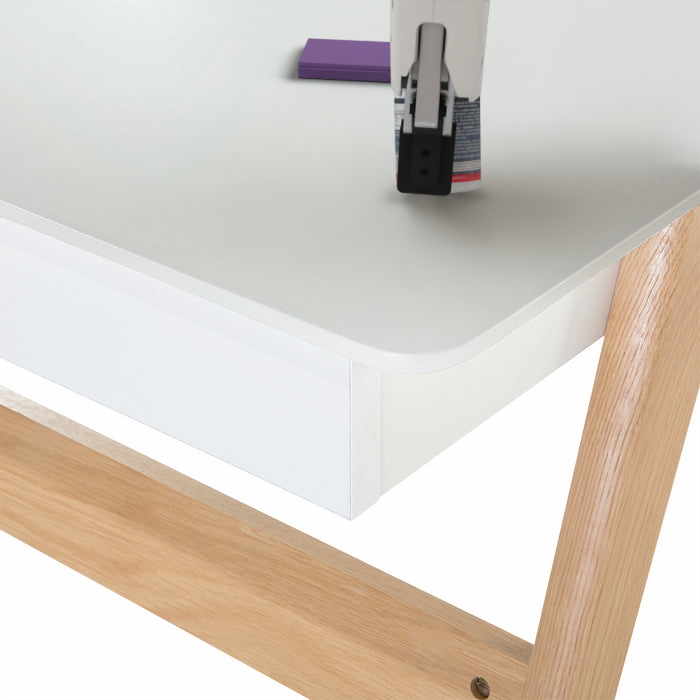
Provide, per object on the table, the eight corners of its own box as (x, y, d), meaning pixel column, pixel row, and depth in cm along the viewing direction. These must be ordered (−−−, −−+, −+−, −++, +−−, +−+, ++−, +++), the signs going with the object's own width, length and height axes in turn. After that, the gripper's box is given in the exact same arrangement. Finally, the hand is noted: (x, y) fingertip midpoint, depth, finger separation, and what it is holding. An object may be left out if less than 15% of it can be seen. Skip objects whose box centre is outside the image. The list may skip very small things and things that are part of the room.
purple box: (458, 56, 98) (459, 42, 97) (454, 85, 93) (455, 70, 93) (309, 49, 99) (309, 35, 99) (298, 77, 94) (297, 62, 94)
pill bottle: (494, 187, 78) (494, 42, 76) (459, 195, 73) (458, 41, 71) (418, 185, 80) (416, 45, 78) (381, 193, 76) (378, 44, 74)
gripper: (520, -95, 56) (485, 255, 67) (519, -163, 69) (489, 141, 79) (357, -104, 57) (347, 244, 67) (385, -170, 69) (372, 133, 80)
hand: (424, 187), depth 73 cm, fingers closed
